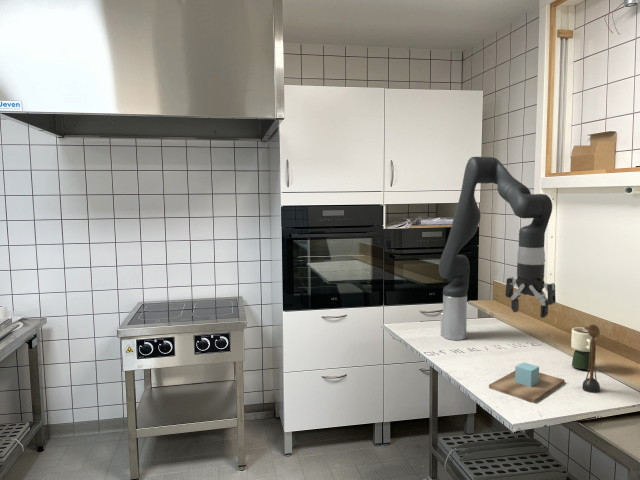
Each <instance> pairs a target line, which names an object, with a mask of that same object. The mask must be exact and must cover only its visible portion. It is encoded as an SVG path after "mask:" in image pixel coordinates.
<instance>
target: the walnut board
mask: <svg viewBox="0 0 640 480" xmlns="http://www.w3.org/2000/svg"><path fill="white" fill-rule="evenodd" d="M565 383H566V380H565V379H564V378H561V377H560V378H559V377H556V376H554V375H553V376H552V375H549V374H545V373H542V372H539V382H538V383H537V384H535V385H533V386H532V387H529V386H526V385H523V384H520V383H517V382H515V370H514V371H512V372H510V373H507V374H506V375H504V376H503V377H501V378H499V379H497V380H495V381H493V382H491V383H489V384H488V389H492V390H494V391H496V392H500V393H503V394H506V395H509V396H512V397H514V398H518V399H521V400H524V401H527V402H529V401H530V402H529V403H532V402H533V403H532V404H536V403H537V402H538V401H539V400H541V399H542V398H544V397H545V396H547V395H548V394H550V393H551V392H553V391H554V390H556V389H558V388H559V387H560V386H562V385H564V384H565Z"/></svg>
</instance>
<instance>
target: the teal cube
mask: <svg viewBox="0 0 640 480" xmlns="http://www.w3.org/2000/svg"><path fill="white" fill-rule="evenodd" d="M514 368H515V370H514V371H515V382H517V383H520V384H523V385H526V386H529V387H532V386H533V385H535V384H537V383H538V382H539V373H540V366H538V365H535V364H532V363H528V362H524V361H523V362H521V363H519V364H518V365H515V367H514Z"/></svg>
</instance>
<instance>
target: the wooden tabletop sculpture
mask: <svg viewBox="0 0 640 480" xmlns="http://www.w3.org/2000/svg"><path fill="white" fill-rule="evenodd" d="M583 328H584V329H585V330H587V331H588V334H589V335H590V336H591V337H592V340H590V358H589V367H588V369H587V374H586V377H585V379H584V380H583V382H582V386H581V387H582V388H581V389H582V391H585V392H587V393H592V394H593V393H594V394H598V393H600V392H601V385H600V382H599V381H598V378H597V373H596V370H597V369H596V352H597V349H596V348H597V340H595V338H596V339H597V338H598V337H599V336H600V334H601V330H600V328H599V326H597V325H596V324H594V323H593V324H589V326H587V325H586V326H584V327H583ZM591 346H592V350H591ZM590 362H591V369H590ZM589 369H590V370H589Z"/></svg>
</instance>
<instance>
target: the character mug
mask: <svg viewBox="0 0 640 480" xmlns="http://www.w3.org/2000/svg"><path fill="white" fill-rule="evenodd" d="M584 328H585V327H583V326H582V327H581V326H579V327H578V326H577V327H572V328H571V339H570V342H571V343H570V346H571V349H572V350H574V351H573V355H572V361H571V366H572V367H573V368H575V369H580V370H584V371H585V370H588V367H589V358H590V340H592V337H591V336H590V335H589V334H588V331H587V330H585V329H584ZM596 339H597V338H595V340H596ZM596 341H597V340H596ZM591 350H592V346H591ZM590 369H591V362H590ZM590 369H589V371H590Z"/></svg>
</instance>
